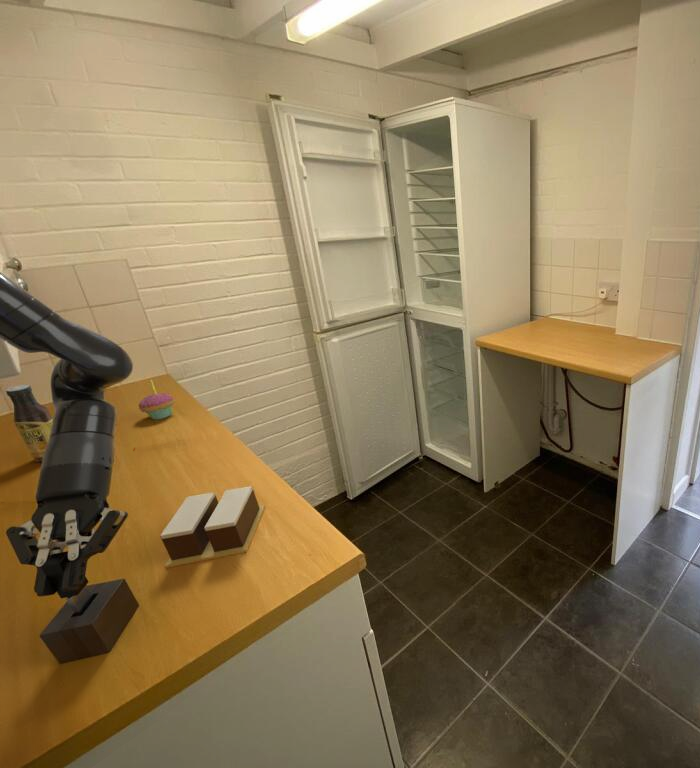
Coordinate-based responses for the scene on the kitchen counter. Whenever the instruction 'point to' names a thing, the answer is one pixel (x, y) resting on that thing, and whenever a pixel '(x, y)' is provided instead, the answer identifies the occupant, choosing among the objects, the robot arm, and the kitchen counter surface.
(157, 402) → the cupcake
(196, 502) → the cake
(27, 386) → the sauce bottle
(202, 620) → the kitchen counter surface
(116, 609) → the knife block
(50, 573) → the knife
